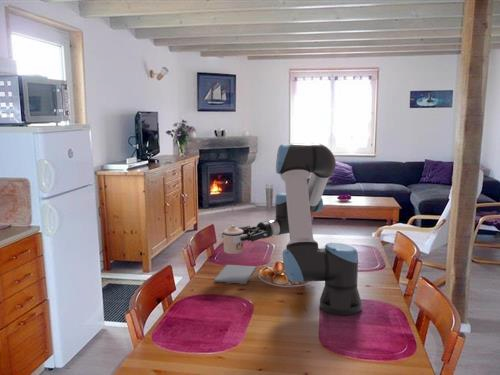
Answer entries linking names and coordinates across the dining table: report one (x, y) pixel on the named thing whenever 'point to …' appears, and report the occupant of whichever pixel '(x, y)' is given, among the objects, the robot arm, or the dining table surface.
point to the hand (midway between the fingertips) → (227, 237)
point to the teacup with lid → (228, 240)
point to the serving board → (235, 274)
